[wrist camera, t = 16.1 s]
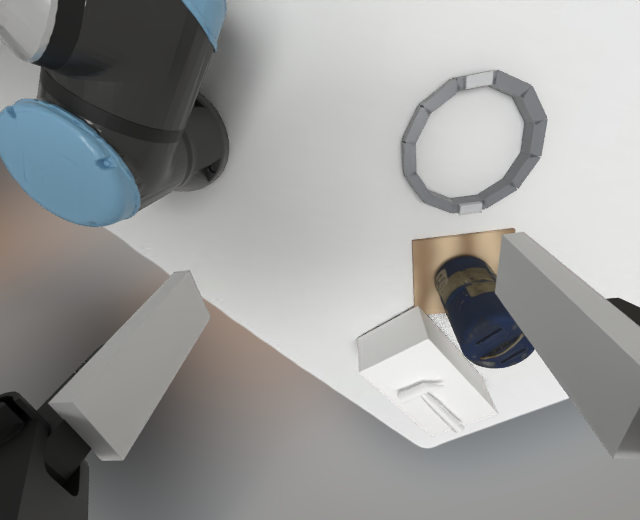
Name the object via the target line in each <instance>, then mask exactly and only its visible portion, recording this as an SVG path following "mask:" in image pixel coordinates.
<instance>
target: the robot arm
mask: <svg viewBox="0 0 640 520" xmlns="http://www.w3.org/2000/svg"><path fill="white" fill-rule="evenodd" d="M225 15H226V1H225V0H0V39H1V40H2V41H3V42H4V43H5V44H6V45H7V46H8V47H9V48H10V50H11V51H12V52H13V53H14V54H15V55H16V56H17V57H18V58H20V59H22V60H24V61H26V62H29V63H33V64H36V65H39V66H41V72H40V80H39V88H38V96H37V99H21V100H19V101H17V102H16V103H15V104H14V105H12V106H8V107H6V108H4V109H3V110H2V111H1V112H0V156H1V158H2V161H3V162H4V164H5V166H6V168H7V169H8V171H9V172H10V174H11V176H12V177H13V178H14V179H15V180H16V181H17V182H18V183H19V184H20V186H21V187H22V188H23V190H24V191H25V192H26V193H27V194H28V195H29V196H30V197H31V198H32V199H33V200H35V201H36V202H37V203H38V204H40V205H41V206H42V207H44V208H45V209H46V210H48V211H50V212H51V213H53V214H55V215H57V216H58V217H60V218H62V219H65V220H67V221H69V222H72V223H75V224H79V225H83V226H89V227H99V226H101V227H102V226H107V225H111V224H114V223H116V222H119V221H121V220H124V219H128V218H130V217H132V216H134V215H135V214H136V213H137V212H138V211H139V210H141V209H143V208H145V207H146V206H148V205H150V204H152V203H153V202H155V201H157V200H158V199H160V198H162V197H164V196H165V195H167V194H169V193H170V192H172V191H193V190H197V189H201V188H203V187H205V186H207V185H208V184H210V183H211V182H213V181H214V180H216V179H217V178H218V177H219V176H220V174H221V173H222V171H223V170H224V168H225V166H226V163H227V159H228V154H229V142H228V136H227V132H226V128H225V126H224V123H223V121H222V119H221V117H220V115H219V114H218V112H217V111H216V109H215V108H214V106H213V105H212V104H211V103H210V102H209V101H208V100H207V99H206V98H205V97H204V96H203V95H201V94H200V93H199V89H200V87H201V84H202V81H203V78H204V76H205V73H206V70H207V67H208V65H209V62H210V59H211V57H212V54H213V52H214V53H216V51H217V48H218V44H217V41H218V37H219V34H220V31H221V28H222V25H223V22H224V19H225ZM495 294H496V295H497V297H498V298H499V299H500V301H501V302H502V304H503V305H504V306H505V308H506V309H507V311H508V312H509V313H510V315H511V316H512V318H513V319H514V320H515V322H516V323H517V325H518V326H519V327H520V329H521V330H522V332H523V333H524V334H525V336H526V337H527V339H528V340H529V342H530V343H531V344H532V346H533V347H534V349H535V350H536V351H537V353H538V354H539V356H540V357H541V358H542V360H543V361H544V363H545V364H546V365H547V367H548V368H549V370H550V371H551V372H552V374H553V375H554V377H555V378H556V379H557V381H558V382H559V384H560V385H561V386H562V388H563V389H564V391H565V392H566V393H567V395H568V396H569V398H570V399H571V400H572V402H573V403H574V404H575V406H576V407H577V409H578V410H579V411H580V413H581V414H582V416H583V417H584V419H585V420H586V421H587V422H588V424H589V425H590V427H591V428H592V430H593V431H594V432H595V434H596V435H597V437H598V438H599V440H600V441H601V442H602V444H603V445H604V447H605V448H606V449H607V450H608V452H609V454H610V455H611V456H612V458H640V307H638V306H635V305H633V304H631V303H629V302H627V301H625V300H622V299H620V298H610V299H605V298H604V297H603V296H602V295H600V294H599V293H598V292H597V291H596V290H594V289H593V288H592V287H591V286H589V285H588V284H587V283H586V282H584V281H583V280H582V279H581V278H580V277H578V276H577V275H576V274H575V273H573V272H572V271H571V270H570V269H569V268H567V267H566V266H565V265H564V264H562V263H561V262H560V261H559V260H558V259H556V258H555V257H554V256H553V255H551V254H550V253H549V252H548V251H547V250H545V249H544V248H543V247H542V246H540V245H539V244H538V243H537V242H536V241H534V240H533V239H532V238H531V237H529V236H528V235H527V234H526V233H525V232H519V233H510V234H502V239H501V247H500V256H499V264H498V272H497V280H496V288H495ZM210 318H211V317H210V315H209V312H208V310H207V308H206V306H205V303H204V301H203V299H202V297H201V294H200V292H199V290H198V288H197V285H196V283H195V281H194V279H193V276H192V274H191V272H190V270H188V271H179V272H174V273H173V274H172V275H171V276H170V277H169V278H168V279H167V280H166V281H165V282H164V283H163V284H162V286H161V287H160V288H159V289H158V290H157V291H156V292H155V293H154V294H153V295H152V296H151V297H150V298H149V299H148V300H147V301H146V302H145V303H144V304H143V305H142V306H141V307H140V308H139V309H138V310H137V311H136V312H135V313H134V315H133V316H132V317H131V318H130V319H129V320H128V321H127V322H126V323H125V324H124V325H123V326H122V327H121V328H120V329H119V330H118V331H117V332H116V333H115V334H114V335H113V336H112V337H111V338H110V339H109V341H107V342H106V343H105V344H103V345H102V346H101V347H99V348H98V349H97V350H96V351H95V352H94V353H93V354H92V355H91V356H90V357H89V358H88V359H87V360H86V361H85V363H83V364H82V365H81V366H80V367H79V368H78V369H77V370H76V373H73V374H72V375H71V376H70V377H69V378H68V379H67V380H66V381H65V382H64V383H63V384H62V386H60V387H59V388H58V389H57V391H56V392H55V393H54V394H53V395H52V396H51V397H50V398H49V399H48V400H47V401H46V402H45V403H44V404H43V405H42V406H41V407H40V408H39V409H38V410H37V411H36V410H35V409H34V408H33V407H32V406H31V405H30V404H29V403H28V402H27V401H26V400H25V399H24V398H23V397H22V396H21V395H20V394H19V393H17V392H8V393H4V394H1V395H0V520H88V491H89V490H88V489H89V466H88V463H87V462H86V461H85V460H84V458H85V457H86V456H87V454H88V453H89V452H90V450H92V451H94V453H95V454H96V455H97V456H98V457H99V458H100V459H101V460H124V458H125V457H126V455H127V453H128V452H129V450H130V448H131V447H132V445H133V444H134V442H135V440H136V439H137V437H138V435H139V434H140V432H141V431H142V429H143V427H144V426H145V424H146V422H147V421H148V419H149V417H150V416H151V414H152V413H153V411H154V409H155V408H156V406H157V404H158V403H159V401H160V399H161V398H162V396H163V394H164V393H165V391H166V390H167V388H168V386H169V385H170V383H171V382H172V380H173V378H174V377H175V375H176V373H177V372H178V370H179V368H180V367H181V365H182V363H183V362H184V360H185V359H186V357H187V355H188V354H189V352H190V350H191V349H192V347H193V345H194V344H195V342H196V341H197V339H198V337H199V336H200V334H201V333H202V331H203V329H204V328H205V326H206V324H207V323H208V321H209V319H210Z"/></svg>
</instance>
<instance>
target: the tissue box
mask: <svg viewBox="0 0 640 520" xmlns="http://www.w3.org/2000/svg"><path fill="white" fill-rule="evenodd" d="M358 360H359V373H360V374H361V375H362V376H363V377H364V378H366V379H367V380H368V381H369V382H370V383H371V384H372V385H373V386H375V387H376V388H377V389H378V390H379V391H380V392H381V393H383V394H384V395H385V396H386V397H387V398H388V399H389V400H390V401H392V402H393V403H394V404H395V405H396V406H397V407H398V408H400V409H401V410H402V411H403V412H404V413H405V414H406V415H407V416H409V417H410V418H411V419H412V420H413V421H414V422H415V423H417V424H418V425H419V426H420V427H421V428H422V429H423V430H424V431H426V432H427V433H428V434H429V435H430V436H431V437H433V436H436V435H439V434H442V433H445V432H448V431H451V430H453V431H454V432H461V431H462V430H463V429H464V426H465V425H468V424H471V423H474V422H477V421H480V420H483V419H485V418H488V417H491V416H494V415H497V414H498V412H497V410H496V408H495V405H494V403H493V401H492V399H491V396H490V394H489V392H488V390H487V387H486V385H485V383H484V381H483V378H482V376H481V375H480V374H479V373H478V372H477V371H476V370H475V368H474V367H473V366H472V365H471V364H470V363H469V362H468V361H467V359H466V358H465V357H464V356H463V355H462V354H461V353H460V352H459V350H458V349H457V348H456V347H455V346H454V345H453V344H452V343H451V342H450V340H449V339H448V338H447V337H446V336H445V335H444V334H443V333H442V331H441V330H440V329H439V328H438V327H437V326H436V325H435V324H434V322H433V321H432V320H431V319H430V318H429V317H428V316H427V315H426V313H425V312H424V311H423V310H422V309H421V308H420V307H419V306H416V307H414V308H412V309H410V310H409V311H407V312H405V313H403V314H401V315H399V316H398V317H396V318H394V319H392V320H390V321H389V322H387V323H385V324H383V325H381V326H379V327H378V328H376V329H374V330H372V331H370V332H368V333H367V334H365V335H363V336H361V337H359V338H358Z"/></svg>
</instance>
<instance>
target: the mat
mask: <svg viewBox="0 0 640 520" xmlns="http://www.w3.org/2000/svg"><path fill="white" fill-rule="evenodd" d="M510 233H515V229H514V228H511V229H503V230H494V231H485V232H477V233H468V234H460V235H451V236H443V237H434V238H426V239H417V240H412V252H413V282H414V307H416V306H419V307H420V308H421V309H422V310H423V311H424V312H425V313H426V314H437V313H446V312H445V310H444V307H443V304H442V302H441V299H440V296H439V294H438V292H437V290H436V287H435V278H436V274H437V272H438V271H439V269H440V268H441V267H442V266H443V265H444V264H445V263H446V262H448V261H450V260H452V259H454V258H457V257H462V256H472V257H476V258H479V259H481V260H483V261H485V262H486V263H487V264H488V265H489V266H490V267H491V269H492V270H493V271H494V273H495V274H496V275H497V272H498V264H499V256H500V247H501V239H502V234H510Z"/></svg>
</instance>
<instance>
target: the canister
mask: <svg viewBox="0 0 640 520" xmlns="http://www.w3.org/2000/svg"><path fill="white" fill-rule="evenodd" d="M496 280H497V275H496V274H495V273H494V271H493V270H492V269H491V267H490V266H489V265H488V264H487V263H486V262H485V261H483V260H481V259H479V258H476V257H472V256H462V257H457V258H454V259H452V260H450V261H448V262H446V263H445V264H444V265H443V266H442V267H441V268H440V269H439V271H438V272H437V274H436V278H435V287H436V290H437V292H438V294H439V296H440V299H441V302H442V304H443V307H444V310H445V312H446V315H447V317H448V319H449V321H450V324H451V326H452V328H453V331H454V333H455V336H456V338H457V341H458V343H459V345H460V348H461V350H462V352H463V354H464V355H465V357H466V358H467V359H468V360H470V361H471V362H472V363H474V364H476V365H478V366H481V367H485V368H504V367H509V366H512V365H515V364H517V363H519V362H521V361H523V360H524V359H526V358H527V357H528V356H529V355H530V354H531V353H532V352H533V351H534V347H533V346H532V344H531V343H530V342H529V340H528V339H527V337H526V336H525V334H524V333H523V332H522V330H521V329H520V327H519V326H518V325H517V323H516V322H515V320H514V319H513V318H512V316H511V315H510V313H509V312H508V311H507V309H506V308H505V306H504V305H503V304H502V302H501V301H500V299H499V298H498V297H497V295H496V294H495V288H496Z"/></svg>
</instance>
